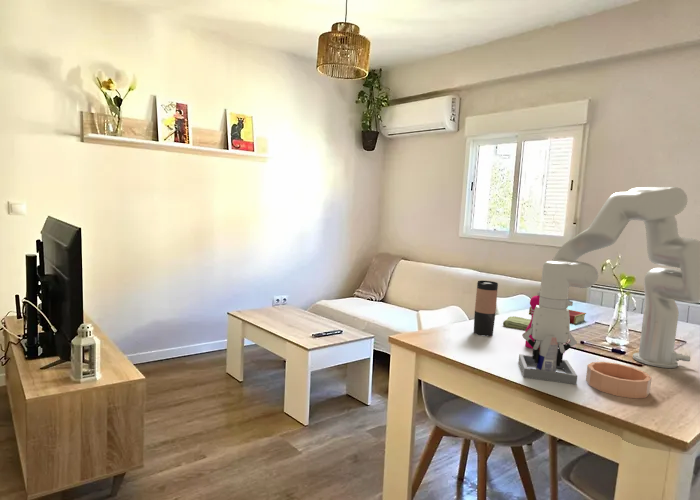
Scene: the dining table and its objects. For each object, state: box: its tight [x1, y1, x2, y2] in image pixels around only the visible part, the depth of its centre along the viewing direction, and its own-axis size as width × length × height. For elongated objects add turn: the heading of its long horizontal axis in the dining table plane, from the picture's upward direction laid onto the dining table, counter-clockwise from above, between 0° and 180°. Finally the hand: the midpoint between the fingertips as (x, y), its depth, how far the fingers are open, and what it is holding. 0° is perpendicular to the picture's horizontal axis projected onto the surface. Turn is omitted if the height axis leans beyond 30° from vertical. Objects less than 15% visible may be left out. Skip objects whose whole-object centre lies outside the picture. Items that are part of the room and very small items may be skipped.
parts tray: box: [518, 353, 578, 385], centre depth 137 cm, size 14×14×2 cm
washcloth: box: [502, 316, 531, 331], centre depth 192 cm, size 13×18×3 cm
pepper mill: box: [524, 291, 540, 350], centre depth 162 cm, size 7×7×20 cm
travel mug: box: [473, 280, 499, 337], centre depth 176 cm, size 8×8×20 cm
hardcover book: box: [528, 305, 587, 325], centre depth 214 cm, size 12×21×4 cm, turn 43°
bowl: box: [585, 361, 652, 399], centre depth 129 cm, size 15×15×4 cm
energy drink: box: [535, 335, 559, 372], centre depth 137 cm, size 5×5×12 cm
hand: (546, 362), depth 137 cm, fingers closed on energy drink, 5 cm apart
